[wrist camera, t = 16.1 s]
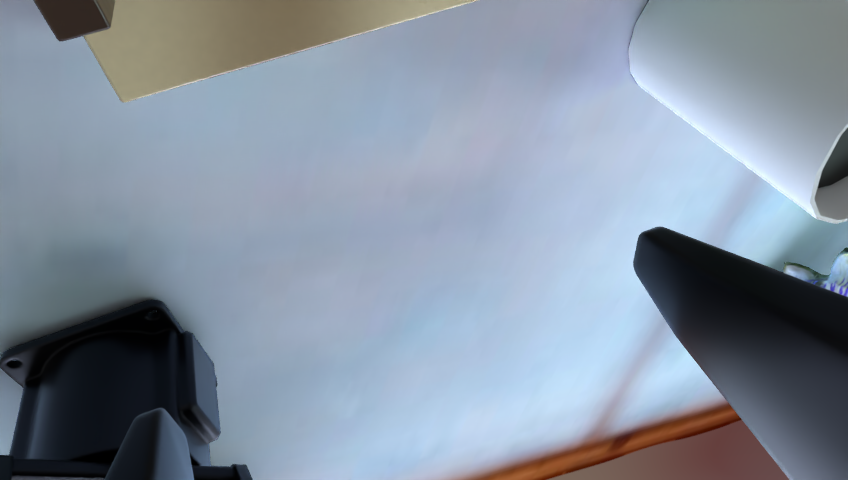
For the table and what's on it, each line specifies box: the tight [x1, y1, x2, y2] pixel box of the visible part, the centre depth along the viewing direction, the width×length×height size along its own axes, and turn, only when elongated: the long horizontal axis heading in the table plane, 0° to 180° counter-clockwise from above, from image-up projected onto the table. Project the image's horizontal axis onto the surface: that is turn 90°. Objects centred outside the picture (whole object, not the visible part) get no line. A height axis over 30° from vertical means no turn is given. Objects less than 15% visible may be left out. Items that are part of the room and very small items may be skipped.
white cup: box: [628, 0, 848, 224], centre depth 21 cm, size 7×7×10 cm
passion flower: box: [783, 248, 848, 297], centre depth 41 cm, size 11×11×12 cm
